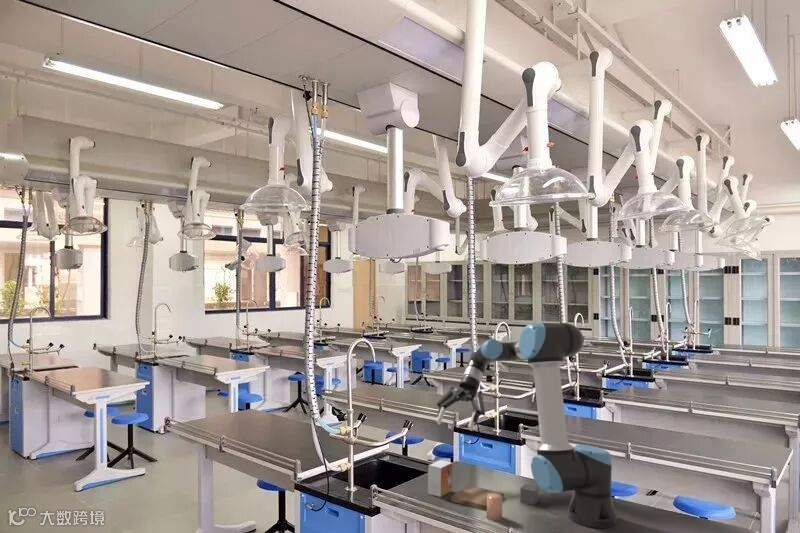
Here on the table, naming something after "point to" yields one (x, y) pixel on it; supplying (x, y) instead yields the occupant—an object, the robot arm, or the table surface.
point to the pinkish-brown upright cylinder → (494, 507)
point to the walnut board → (473, 497)
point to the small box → (440, 478)
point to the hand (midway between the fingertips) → (453, 425)
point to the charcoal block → (529, 494)
